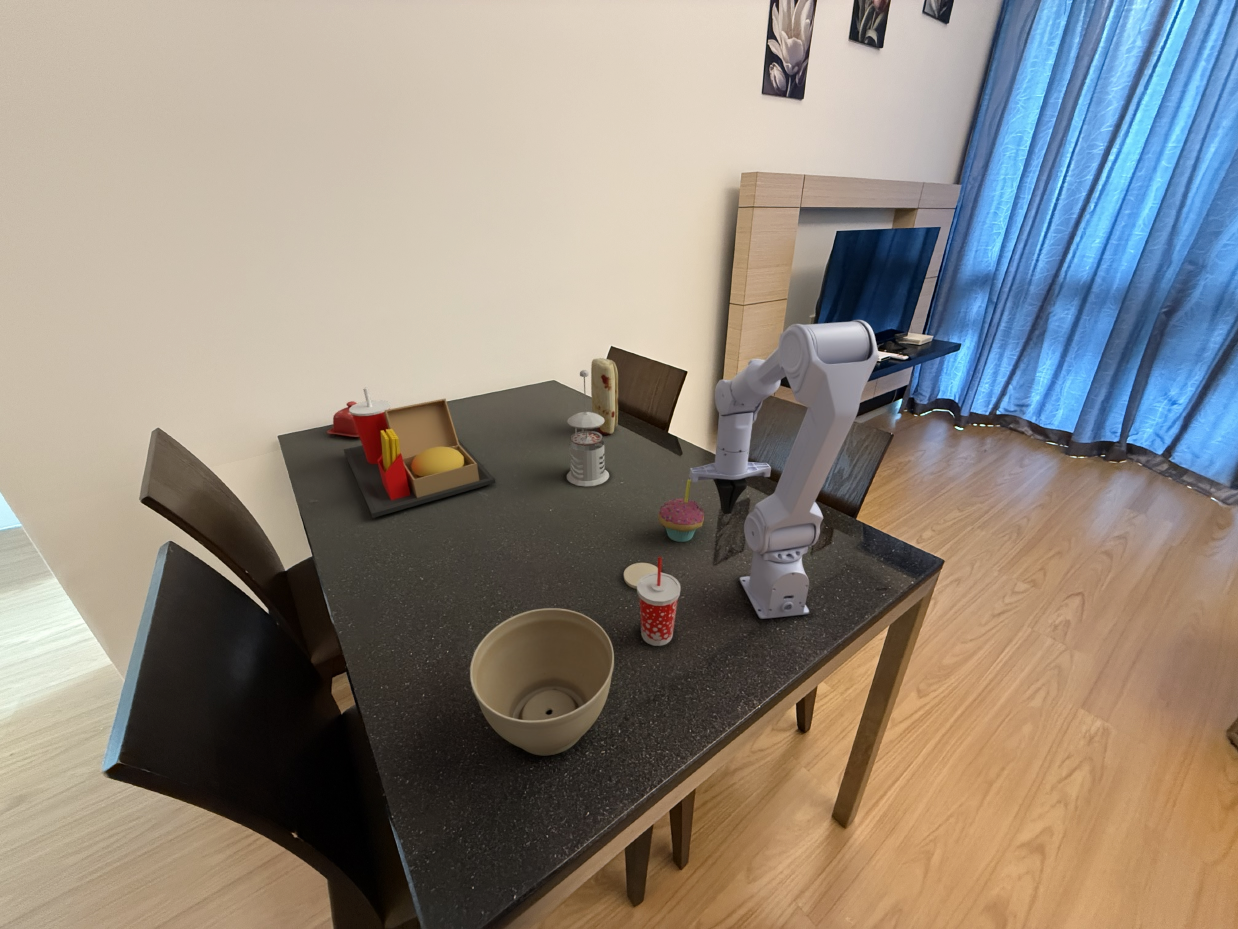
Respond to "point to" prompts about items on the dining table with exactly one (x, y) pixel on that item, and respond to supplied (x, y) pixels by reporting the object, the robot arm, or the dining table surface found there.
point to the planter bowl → (543, 678)
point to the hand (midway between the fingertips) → (725, 511)
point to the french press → (586, 448)
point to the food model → (605, 393)
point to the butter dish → (344, 422)
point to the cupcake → (681, 517)
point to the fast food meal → (410, 455)
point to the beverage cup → (658, 606)
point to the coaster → (638, 573)
